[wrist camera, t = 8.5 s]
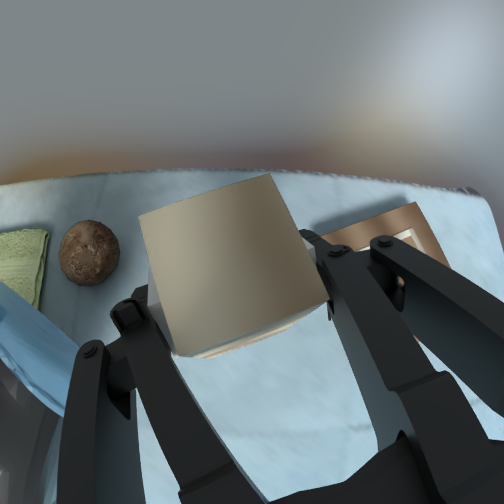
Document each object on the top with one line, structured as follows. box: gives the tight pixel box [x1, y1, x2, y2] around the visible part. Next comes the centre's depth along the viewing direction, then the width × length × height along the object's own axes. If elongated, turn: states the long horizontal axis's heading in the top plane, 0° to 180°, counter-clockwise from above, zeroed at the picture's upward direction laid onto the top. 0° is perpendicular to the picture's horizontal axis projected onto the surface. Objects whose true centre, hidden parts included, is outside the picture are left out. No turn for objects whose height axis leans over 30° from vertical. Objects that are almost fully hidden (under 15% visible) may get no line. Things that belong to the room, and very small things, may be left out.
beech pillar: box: [138, 173, 330, 359], centre depth 14 cm, size 5×5×10 cm
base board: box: [320, 201, 451, 342], centre depth 33 cm, size 16×16×3 cm
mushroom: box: [59, 220, 120, 286], centre depth 32 cm, size 8×8×6 cm
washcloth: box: [0, 228, 49, 311], centre depth 31 cm, size 13×18×3 cm
